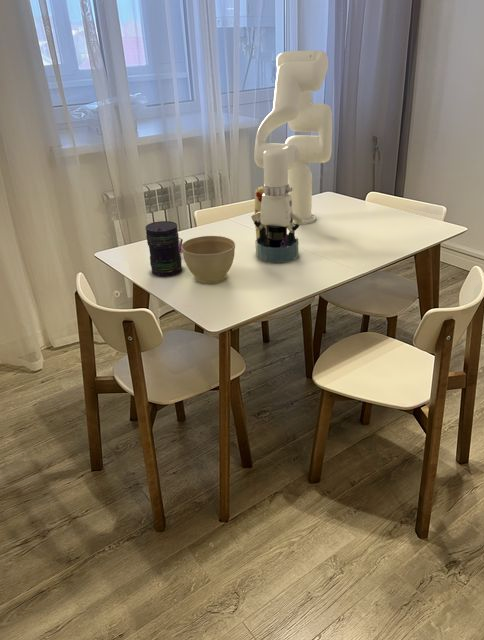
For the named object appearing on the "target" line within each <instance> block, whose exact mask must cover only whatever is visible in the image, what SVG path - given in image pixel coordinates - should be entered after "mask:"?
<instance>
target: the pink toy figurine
mask: <svg viewBox="0 0 484 640" xmlns="http://www.w3.org/2000/svg"><path fill="white" fill-rule="evenodd" d="M178 238H179V243H178V245H179V253H180V254H181V253H183V251H182V248H181V246H182V244H183V238H182V237H179V236H178Z"/></svg>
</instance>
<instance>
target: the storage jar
mask: <svg viewBox="0 0 484 640" xmlns="http://www.w3.org/2000/svg"><path fill="white" fill-rule="evenodd" d="M145 236H146V237H145V238H146V241H147V242H146V243H147V246H148V250H149V265H150V268H151V274H152V275H153V276H154V277H157V278H170V277H176V276H178V275H180V274H181V273H182V272H183V267H182V263H183V261H182V258H181V257H182V256H181V253H179V245H178V243H179V238H180V237H179V232H178V224H177V223H176V222H174V221H170V220H161V221H155V222H151V223H148V224H147V225H145ZM178 237H179V238H178Z"/></svg>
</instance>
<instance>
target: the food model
mask: <svg viewBox="0 0 484 640" xmlns="http://www.w3.org/2000/svg"><path fill="white" fill-rule="evenodd" d="M263 194H264V185H263V186H261V185H260V186H258V187H256V188H255V190H254V214H256V213H258V212H260V211H261V202H262V196H263ZM257 219H258V221H259V222H260V223H261V216H259V217H257ZM254 226H255V240H256V239H257V238H258V237H260V232H259V230H258V227H257V226H256V225H255V224H254ZM264 228H266V235H267V225H265V226H264Z"/></svg>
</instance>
